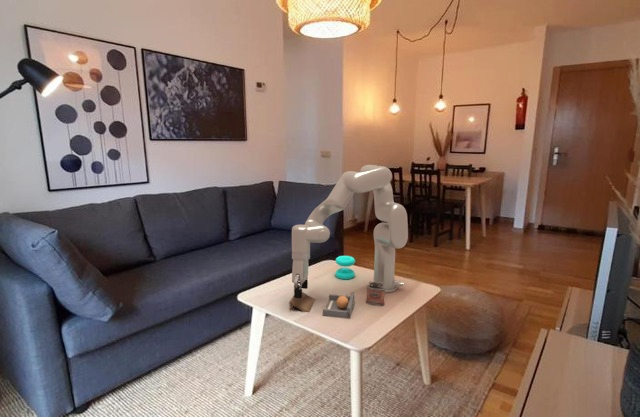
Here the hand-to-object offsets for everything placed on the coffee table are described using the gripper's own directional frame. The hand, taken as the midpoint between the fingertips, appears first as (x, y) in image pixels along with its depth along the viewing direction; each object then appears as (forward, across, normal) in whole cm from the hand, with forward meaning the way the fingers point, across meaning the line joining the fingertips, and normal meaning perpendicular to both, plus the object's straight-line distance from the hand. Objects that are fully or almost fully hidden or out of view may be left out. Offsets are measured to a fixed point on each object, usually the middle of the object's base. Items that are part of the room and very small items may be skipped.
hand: (301, 292), depth 150 cm
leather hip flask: (+6, -8, +31) cm, 32 cm away
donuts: (+6, -36, +14) cm, 39 cm away
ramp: (+5, 0, +1) cm, 5 cm away
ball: (+2, 0, +15) cm, 16 cm away
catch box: (+5, 0, +16) cm, 17 cm away
